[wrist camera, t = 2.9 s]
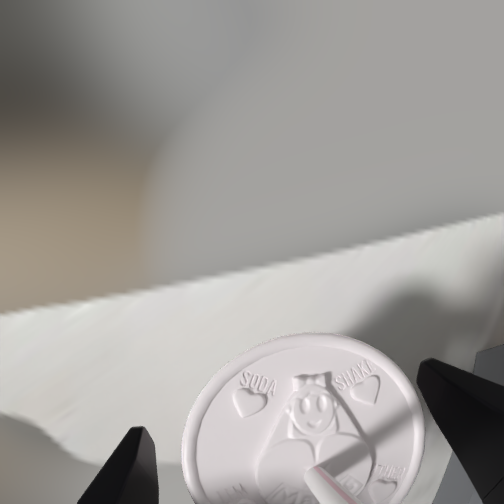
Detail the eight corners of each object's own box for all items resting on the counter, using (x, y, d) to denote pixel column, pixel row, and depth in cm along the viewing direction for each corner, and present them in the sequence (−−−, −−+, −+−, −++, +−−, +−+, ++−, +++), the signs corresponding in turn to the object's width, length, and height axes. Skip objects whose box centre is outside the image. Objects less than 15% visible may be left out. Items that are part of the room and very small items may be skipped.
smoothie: (219, 477, 14) (145, 659, 1) (213, 366, 16) (100, 263, 4) (338, 468, 14) (524, 571, 1) (331, 359, 16) (524, 246, 4)
